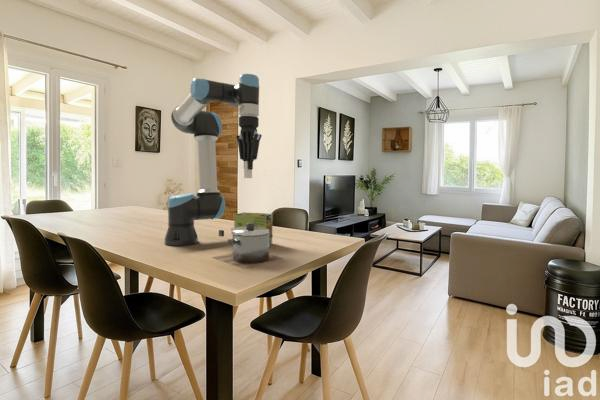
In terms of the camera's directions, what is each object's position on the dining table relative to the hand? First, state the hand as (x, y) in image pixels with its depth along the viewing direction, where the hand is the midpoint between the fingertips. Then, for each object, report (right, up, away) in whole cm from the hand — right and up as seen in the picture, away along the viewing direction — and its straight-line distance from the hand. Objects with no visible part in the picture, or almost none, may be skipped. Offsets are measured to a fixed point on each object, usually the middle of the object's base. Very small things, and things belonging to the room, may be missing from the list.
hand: (248, 178), depth 129 cm
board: (0, -32, +1) cm, 32 cm away
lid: (+1, -21, -1) cm, 21 cm away
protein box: (-1, -31, +25) cm, 39 cm away
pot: (+1, -31, -1) cm, 31 cm away
